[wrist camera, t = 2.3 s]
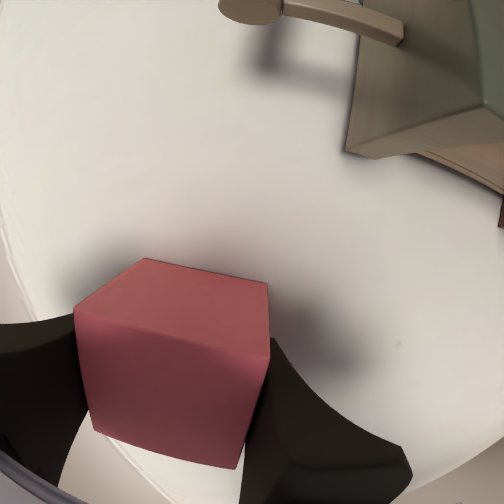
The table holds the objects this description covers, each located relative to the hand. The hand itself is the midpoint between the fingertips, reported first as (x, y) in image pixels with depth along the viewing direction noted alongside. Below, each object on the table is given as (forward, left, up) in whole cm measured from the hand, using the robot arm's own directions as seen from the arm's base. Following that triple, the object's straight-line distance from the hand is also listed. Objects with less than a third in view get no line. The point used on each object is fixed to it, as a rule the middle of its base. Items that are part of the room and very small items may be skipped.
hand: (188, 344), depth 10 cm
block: (0, 0, -1) cm, 1 cm away
